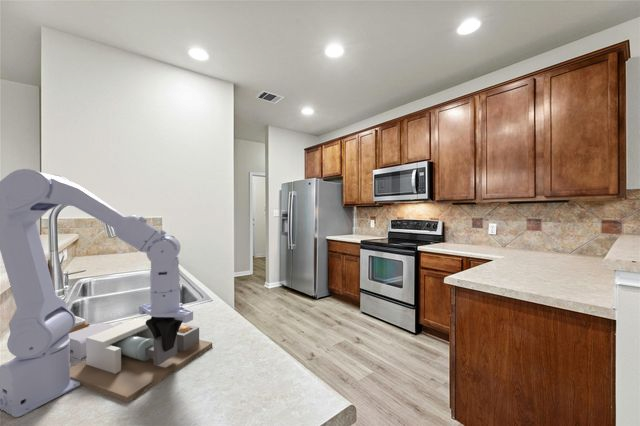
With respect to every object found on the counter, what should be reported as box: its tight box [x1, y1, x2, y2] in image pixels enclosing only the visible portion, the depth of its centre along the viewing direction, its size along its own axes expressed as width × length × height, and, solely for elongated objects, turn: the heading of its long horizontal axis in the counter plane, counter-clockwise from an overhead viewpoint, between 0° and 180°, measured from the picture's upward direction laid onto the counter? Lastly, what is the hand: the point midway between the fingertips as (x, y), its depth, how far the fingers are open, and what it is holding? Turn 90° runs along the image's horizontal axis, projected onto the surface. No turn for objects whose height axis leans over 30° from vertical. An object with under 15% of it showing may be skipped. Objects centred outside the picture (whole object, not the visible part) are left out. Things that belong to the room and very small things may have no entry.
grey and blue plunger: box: [110, 335, 177, 366], centre depth 63 cm, size 5×17×7 cm, turn 69°
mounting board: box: [70, 339, 213, 403], centre depth 64 cm, size 22×22×1 cm
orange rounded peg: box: [179, 325, 190, 333], centre depth 69 cm, size 2×2×4 cm
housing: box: [85, 317, 200, 374], centre depth 66 cm, size 17×16×6 cm
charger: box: [69, 321, 124, 360], centre depth 73 cm, size 5×9×15 cm
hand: (165, 348), depth 60 cm, fingers closed on grey and blue plunger
